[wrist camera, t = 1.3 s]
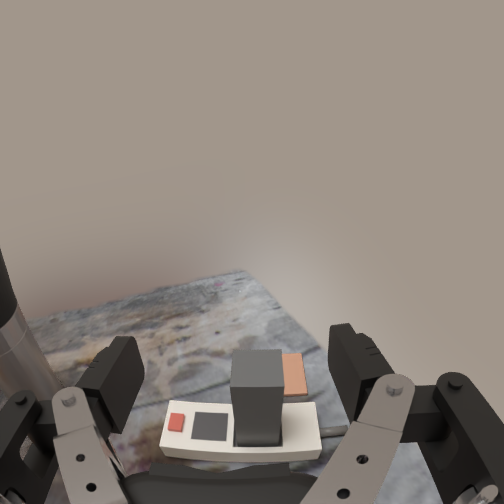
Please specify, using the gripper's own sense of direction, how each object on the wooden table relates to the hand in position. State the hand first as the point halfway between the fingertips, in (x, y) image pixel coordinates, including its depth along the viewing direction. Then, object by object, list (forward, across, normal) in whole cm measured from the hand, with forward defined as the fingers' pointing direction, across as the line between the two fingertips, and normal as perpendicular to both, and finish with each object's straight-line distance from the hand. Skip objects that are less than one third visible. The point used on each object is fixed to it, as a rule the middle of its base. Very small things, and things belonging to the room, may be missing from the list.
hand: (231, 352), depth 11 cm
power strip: (+14, 0, +23) cm, 27 cm away
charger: (+13, 0, +21) cm, 25 cm away
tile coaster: (+24, -4, +22) cm, 32 cm away
